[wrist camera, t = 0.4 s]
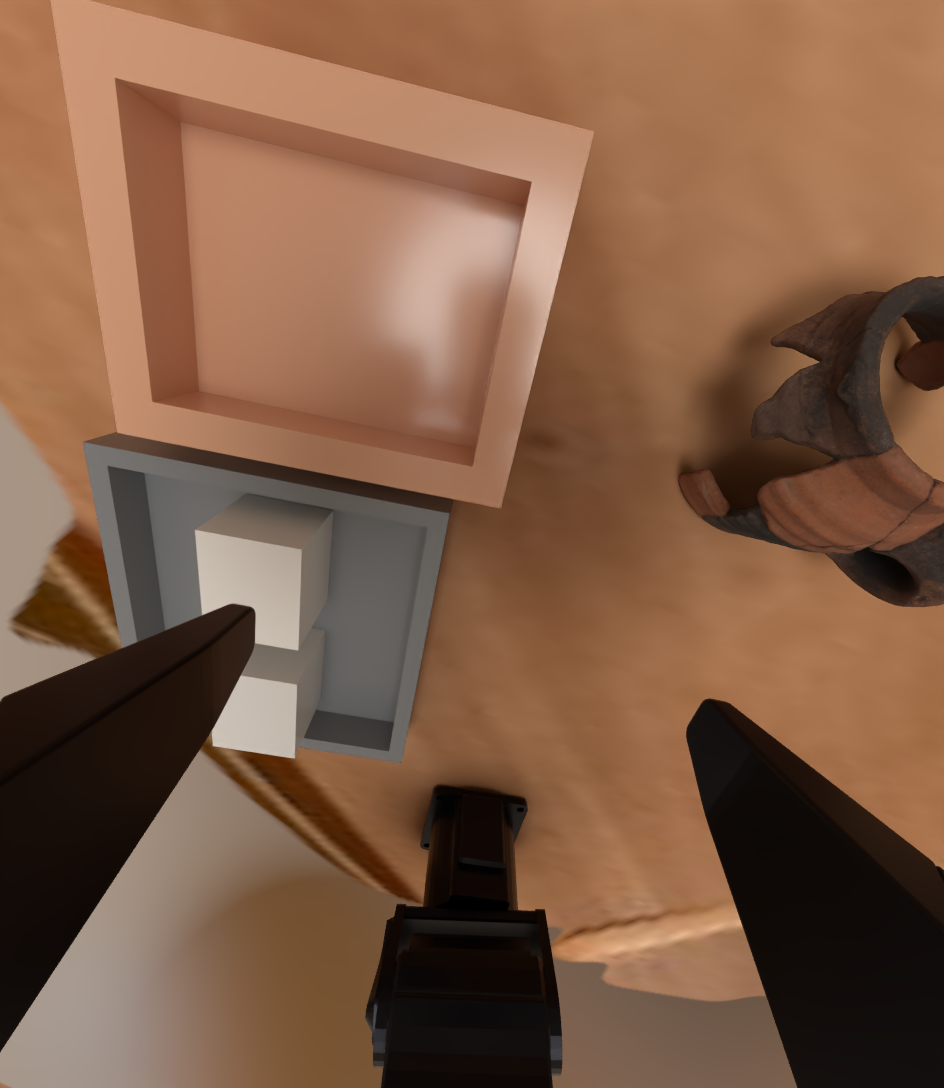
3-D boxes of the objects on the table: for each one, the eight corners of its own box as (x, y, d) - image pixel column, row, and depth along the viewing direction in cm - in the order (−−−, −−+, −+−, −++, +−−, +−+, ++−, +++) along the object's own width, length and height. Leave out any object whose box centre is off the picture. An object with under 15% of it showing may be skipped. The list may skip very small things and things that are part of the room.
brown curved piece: (620, 441, 20) (775, 359, 12) (757, 325, 22) (977, 182, 13) (773, 642, 21) (1012, 693, 13) (894, 518, 23) (1176, 493, 14)
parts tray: (408, 726, 28) (401, 763, 25) (166, 687, 27) (135, 721, 24) (453, 492, 21) (449, 513, 18) (129, 428, 20) (82, 441, 17)
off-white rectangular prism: (320, 698, 26) (294, 758, 22) (251, 686, 26) (213, 746, 22) (325, 630, 24) (297, 684, 20) (249, 616, 23) (206, 669, 20)
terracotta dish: (498, 480, 20) (500, 508, 17) (176, 415, 19) (117, 432, 16) (571, 170, 15) (594, 131, 12) (143, 62, 14) (49, -11, 11)
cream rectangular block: (327, 599, 23) (298, 650, 19) (248, 585, 22) (203, 634, 19) (333, 510, 21) (301, 549, 17) (245, 493, 20) (195, 529, 17)
